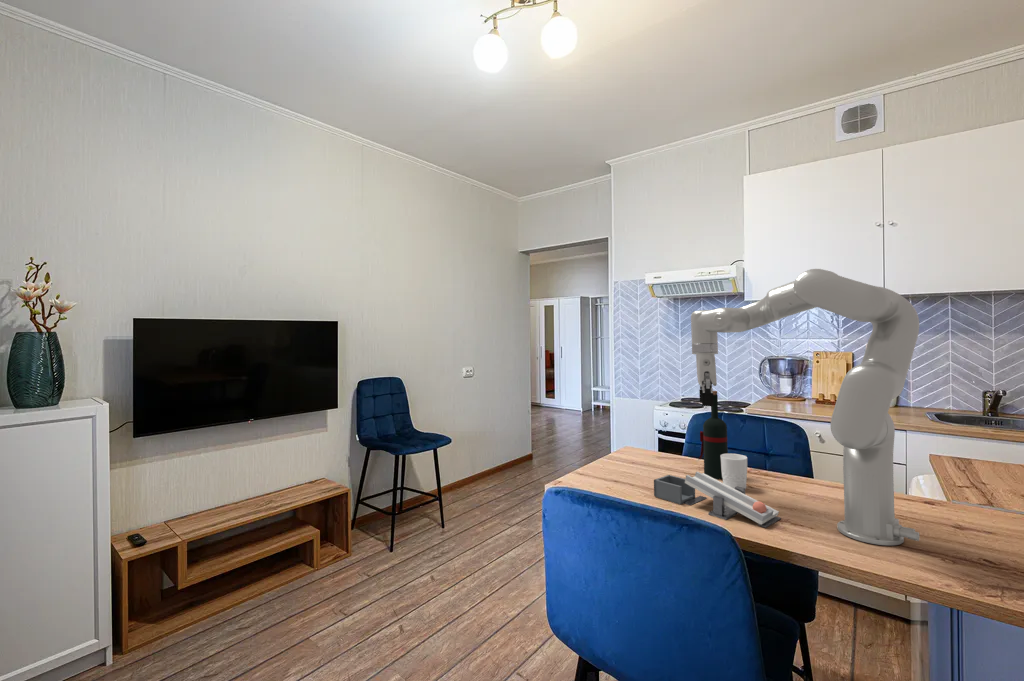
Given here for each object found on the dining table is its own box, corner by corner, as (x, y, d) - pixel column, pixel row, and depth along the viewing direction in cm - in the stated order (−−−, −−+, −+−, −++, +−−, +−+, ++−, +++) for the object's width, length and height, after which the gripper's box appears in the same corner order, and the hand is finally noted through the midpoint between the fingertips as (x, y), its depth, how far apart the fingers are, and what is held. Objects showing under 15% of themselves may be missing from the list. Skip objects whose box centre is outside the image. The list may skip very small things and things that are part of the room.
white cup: (742, 483, 148) (741, 453, 148) (752, 491, 140) (751, 459, 141) (717, 483, 149) (716, 453, 149) (726, 491, 141) (725, 459, 141)
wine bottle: (705, 470, 164) (703, 389, 164) (732, 476, 156) (730, 390, 156) (693, 474, 159) (691, 390, 160) (721, 480, 151) (719, 392, 152)
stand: (784, 516, 120) (784, 497, 120) (761, 530, 112) (760, 509, 112) (704, 494, 138) (704, 478, 138) (679, 505, 130) (678, 487, 130)
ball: (766, 515, 117) (770, 505, 116) (760, 518, 115) (765, 508, 114) (754, 507, 119) (758, 497, 118) (748, 510, 117) (752, 500, 116)
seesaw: (778, 514, 120) (780, 506, 119) (761, 524, 113) (763, 516, 113) (702, 476, 136) (704, 468, 136) (684, 482, 130) (686, 475, 130)
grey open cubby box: (695, 498, 135) (694, 481, 135) (680, 504, 130) (680, 486, 130) (669, 490, 142) (668, 474, 142) (654, 496, 138) (653, 479, 138)
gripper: (721, 349, 131) (722, 408, 130) (714, 348, 147) (716, 400, 147) (693, 350, 133) (695, 407, 133) (690, 349, 149) (692, 400, 149)
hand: (706, 403), depth 140 cm, fingers open, 9 cm apart
